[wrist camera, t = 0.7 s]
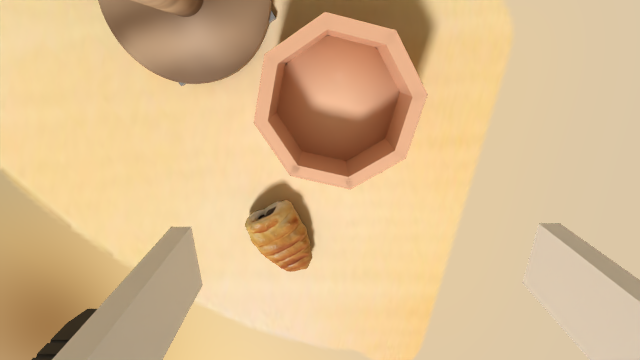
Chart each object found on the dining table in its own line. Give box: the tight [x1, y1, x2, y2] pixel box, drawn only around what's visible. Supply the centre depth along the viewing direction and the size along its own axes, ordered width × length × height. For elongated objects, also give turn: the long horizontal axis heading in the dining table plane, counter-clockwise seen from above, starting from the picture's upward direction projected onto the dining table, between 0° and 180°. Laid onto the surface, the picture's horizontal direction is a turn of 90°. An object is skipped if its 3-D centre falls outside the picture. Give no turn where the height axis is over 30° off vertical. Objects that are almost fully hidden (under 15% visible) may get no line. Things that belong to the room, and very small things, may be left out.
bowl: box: [254, 12, 428, 189], centre depth 30 cm, size 14×14×6 cm
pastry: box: [245, 200, 312, 271], centre depth 38 cm, size 9×7×4 cm
